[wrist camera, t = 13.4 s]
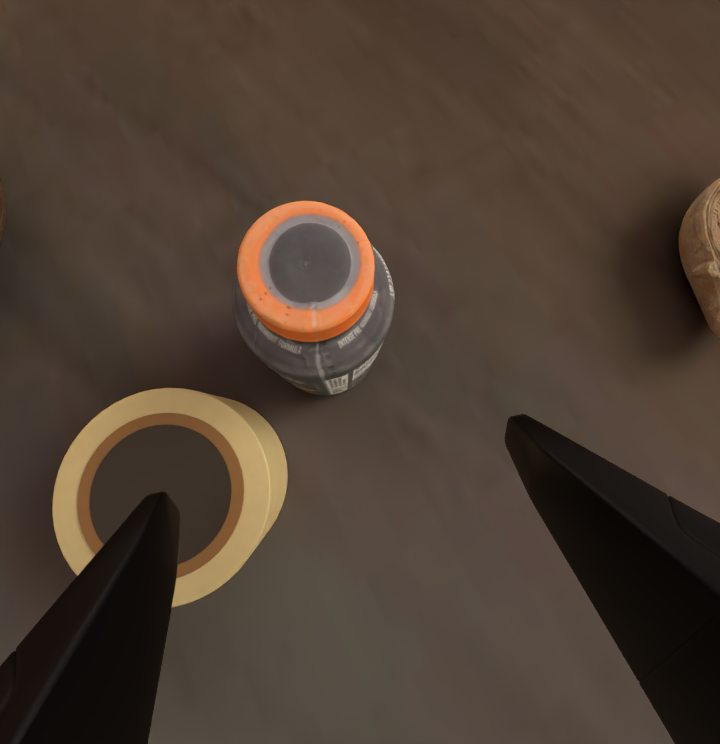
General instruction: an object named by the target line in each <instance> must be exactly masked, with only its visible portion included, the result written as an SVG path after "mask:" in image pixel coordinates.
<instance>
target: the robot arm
mask: <svg viewBox="0 0 720 744" xmlns="http://www.w3.org/2000/svg"><path fill="white" fill-rule="evenodd" d="M505 444H506V447H507V449H508V451H509V453H510V455H511V458H512V460H513V462H514V464H515V466H516V469H517V471H518V473H519V475H520V478H521V480H522V482H523V484H524V486H525V489H526V491H527V493H528V495H529V497H530V499H531V500H532V502H533V504H534V506H535V507H536V509H537V511H538V512H539V514H540V516H541V518H542V519H543V521H544V523H545V524H546V526H547V528H548V529H549V531H550V533H551V534H552V536H553V538H554V540H555V541H556V543H557V545H558V546H559V548H560V550H561V551H562V553H563V555H564V556H565V558H566V560H567V562H568V563H569V565H570V567H571V568H572V570H573V572H574V573H575V575H576V577H577V578H578V580H579V582H580V583H581V585H582V587H583V589H584V590H585V592H586V594H587V595H588V597H589V599H590V600H591V602H592V604H593V605H594V607H595V609H596V611H597V612H598V614H599V616H600V617H601V619H602V621H603V622H604V624H605V626H606V627H607V629H608V631H609V632H610V634H611V636H612V638H613V639H614V641H615V643H616V644H617V646H618V648H619V649H620V651H621V653H622V654H623V656H624V658H625V660H626V661H627V663H628V665H629V666H630V668H631V670H632V671H633V673H634V675H635V676H636V678H637V680H638V681H640V682H639V683H640V685H641V687H642V689H643V690H644V692H645V694H646V695H647V697H648V699H649V701H650V702H651V704H652V706H653V707H654V709H655V711H656V712H657V714H658V716H659V717H660V719H661V721H662V723H663V724H664V726H665V728H666V729H667V731H668V733H669V734H670V736H671V738H672V739H673V741H674V743H675V744H720V523H718V522H716V521H715V520H713V519H711V518H709V517H707V516H705V515H704V514H702V513H700V512H698V511H696V510H694V509H693V508H691V507H689V506H687V505H685V504H684V503H682V502H680V501H678V500H676V499H675V498H673V497H671V496H667V494H666V493H664V492H662V491H660V490H659V489H657V488H655V487H653V486H651V485H650V484H648V483H646V482H644V481H643V480H641V479H639V478H637V477H636V476H634V475H632V474H630V473H628V472H627V471H625V470H623V469H621V468H620V467H618V466H616V465H614V464H613V463H611V462H609V461H607V460H605V459H604V458H602V457H600V456H598V455H597V454H595V453H593V452H591V451H589V450H588V449H586V448H584V447H582V446H581V445H579V444H577V443H575V442H574V441H572V440H570V439H568V438H566V437H565V436H563V435H561V434H559V433H558V432H556V431H554V430H552V429H551V428H549V427H547V426H545V425H543V424H542V423H540V422H538V421H536V420H535V419H533V418H531V417H529V416H527V415H525V414H521V415H516V416H511V417H510V418H509V419H508V422H507V428H506V434H505ZM180 521H181V515H180V511H179V509H178V507H177V506H176V504H175V503H174V501H173V500H172V499H171V497H170V496H169V495H168V493H167V492H164V491H161V492H156V493H152V494H149V495H147V496H146V497H145V498H144V499H143V500H142V501H141V502H140V503H139V504H138V506H137V507H136V508H135V509H134V510H133V512H132V513H131V514H130V515H129V516H128V517H127V519H126V520H125V521H124V522H123V523H122V524H121V526H120V527H119V528H118V529H117V530H116V531H115V533H114V534H113V535H112V536H111V537H110V538H109V540H108V541H107V542H106V543H105V544H104V546H103V547H102V548H101V549H100V550H99V551H98V553H97V554H96V555H95V556H94V557H93V558H92V560H91V561H90V562H89V563H88V564H87V565H86V567H85V568H84V569H83V570H82V571H81V572H80V574H79V575H78V576H77V577H76V578H75V580H74V581H73V582H72V583H71V584H70V585H69V587H68V588H67V589H66V590H65V591H64V592H63V594H62V595H61V596H60V597H59V598H58V599H57V601H56V602H55V603H54V604H53V605H52V606H51V608H50V609H49V610H48V611H47V612H46V614H45V615H44V616H43V617H42V618H41V619H40V621H39V622H38V623H37V624H36V625H35V626H34V628H33V629H32V630H31V631H30V632H29V633H28V635H27V636H26V637H25V638H24V639H23V640H22V642H21V643H20V644H19V645H18V646H17V648H16V651H14V652H12V653H11V654H10V656H9V657H8V658H7V659H6V660H5V661H4V663H3V664H2V665H1V666H0V744H148V738H149V733H150V727H151V721H152V716H153V710H154V704H155V699H156V693H157V687H158V682H159V676H160V670H161V665H162V659H163V653H164V648H165V642H166V636H167V631H168V625H169V619H170V614H171V608H172V602H173V597H174V591H175V585H176V578H177V567H178V552H179V536H180Z"/></svg>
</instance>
